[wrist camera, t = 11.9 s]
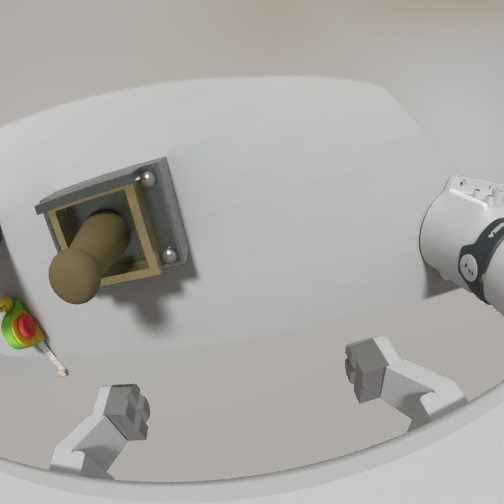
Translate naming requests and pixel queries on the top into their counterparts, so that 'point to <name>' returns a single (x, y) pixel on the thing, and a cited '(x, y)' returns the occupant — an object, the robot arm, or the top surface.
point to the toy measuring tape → (24, 330)
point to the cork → (88, 257)
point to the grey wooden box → (125, 218)
